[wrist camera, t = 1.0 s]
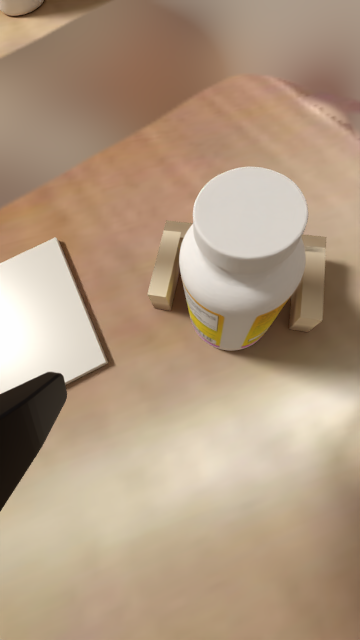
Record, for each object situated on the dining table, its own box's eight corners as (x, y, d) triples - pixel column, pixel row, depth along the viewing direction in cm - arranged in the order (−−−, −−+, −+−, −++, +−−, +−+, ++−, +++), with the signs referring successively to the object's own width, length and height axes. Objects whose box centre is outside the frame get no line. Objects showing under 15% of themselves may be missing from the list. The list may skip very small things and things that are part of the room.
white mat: (108, 363, 23) (105, 361, 22) (-47, 442, 22) (-54, 443, 21) (58, 240, 27) (55, 237, 27) (-72, 302, 27) (-78, 300, 26)
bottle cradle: (307, 332, 22) (322, 320, 19) (154, 308, 24) (147, 294, 21) (312, 257, 24) (326, 236, 21) (170, 241, 26) (166, 220, 23)
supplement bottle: (269, 282, 24) (334, 148, 12) (267, 356, 22) (342, 289, 10) (194, 276, 25) (180, 147, 12) (185, 347, 23) (159, 276, 10)
